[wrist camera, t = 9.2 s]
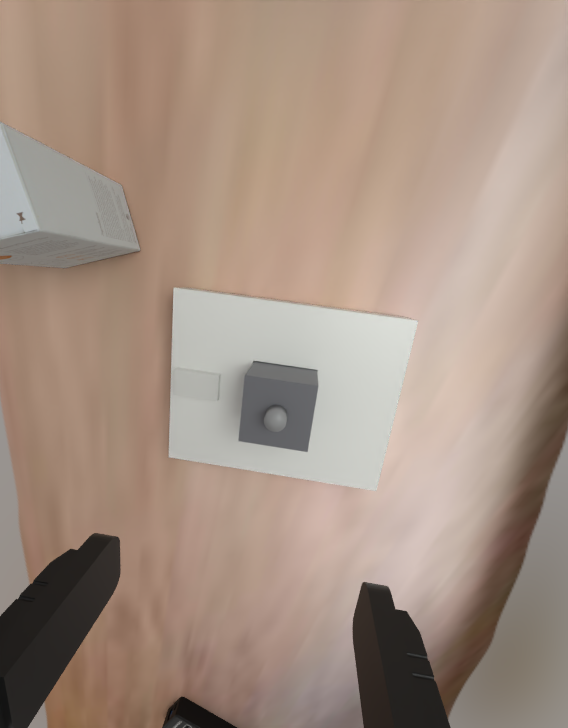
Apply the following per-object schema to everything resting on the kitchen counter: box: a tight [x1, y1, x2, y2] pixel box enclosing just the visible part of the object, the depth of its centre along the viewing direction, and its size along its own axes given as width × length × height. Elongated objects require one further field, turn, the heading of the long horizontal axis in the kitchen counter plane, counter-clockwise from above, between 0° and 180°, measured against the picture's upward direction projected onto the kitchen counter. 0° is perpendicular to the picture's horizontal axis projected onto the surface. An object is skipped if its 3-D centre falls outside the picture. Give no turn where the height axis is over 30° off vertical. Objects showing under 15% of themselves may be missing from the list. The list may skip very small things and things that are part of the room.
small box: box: [0, 122, 140, 268], centre depth 21 cm, size 8×6×10 cm
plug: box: [238, 361, 318, 452], centre depth 25 cm, size 5×5×8 cm
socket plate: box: [169, 288, 418, 491], centre depth 27 cm, size 16×20×4 cm
